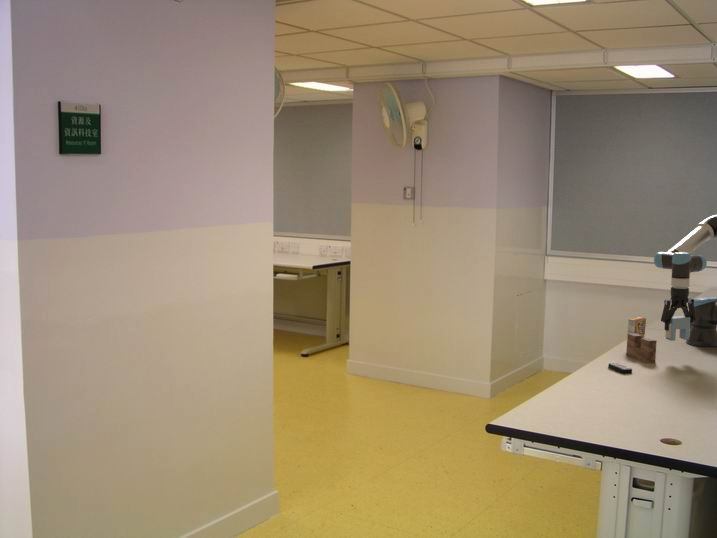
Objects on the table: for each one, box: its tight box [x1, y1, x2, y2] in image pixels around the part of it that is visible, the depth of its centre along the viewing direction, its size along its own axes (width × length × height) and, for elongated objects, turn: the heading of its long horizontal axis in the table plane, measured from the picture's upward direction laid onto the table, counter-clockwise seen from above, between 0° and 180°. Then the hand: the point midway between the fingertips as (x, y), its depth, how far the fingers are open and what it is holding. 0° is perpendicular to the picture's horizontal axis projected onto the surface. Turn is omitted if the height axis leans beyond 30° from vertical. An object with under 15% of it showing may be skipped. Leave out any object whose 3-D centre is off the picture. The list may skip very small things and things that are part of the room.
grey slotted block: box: [665, 315, 690, 342], centre depth 354 cm, size 9×4×10 cm, turn 105°
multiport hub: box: [608, 362, 633, 375], centre depth 336 cm, size 4×11×2 cm, turn 17°
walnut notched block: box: [626, 333, 658, 364], centre depth 358 cm, size 4×16×10 cm, turn 15°
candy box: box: [627, 316, 647, 338], centre depth 375 cm, size 9×4×15 cm, turn 129°
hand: (677, 336), depth 354 cm, fingers closed on grey slotted block, 9 cm apart
